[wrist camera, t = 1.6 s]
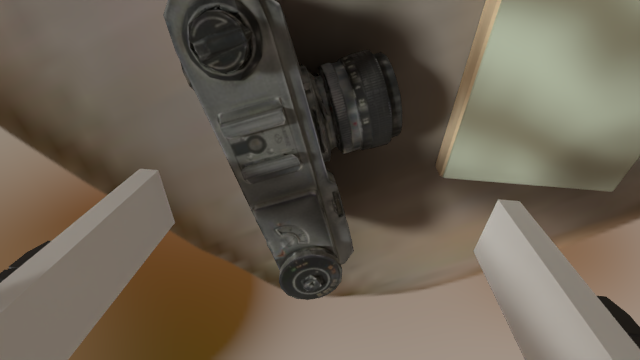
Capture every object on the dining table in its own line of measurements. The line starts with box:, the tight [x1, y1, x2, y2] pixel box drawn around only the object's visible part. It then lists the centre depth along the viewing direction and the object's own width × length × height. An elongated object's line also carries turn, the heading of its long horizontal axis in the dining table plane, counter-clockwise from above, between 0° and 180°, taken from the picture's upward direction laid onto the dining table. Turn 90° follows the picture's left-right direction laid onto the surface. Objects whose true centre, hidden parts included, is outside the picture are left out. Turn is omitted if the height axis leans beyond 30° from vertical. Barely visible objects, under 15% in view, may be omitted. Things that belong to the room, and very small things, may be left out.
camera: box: [164, 0, 402, 300], centre depth 17 cm, size 18×9×10 cm, turn 15°
